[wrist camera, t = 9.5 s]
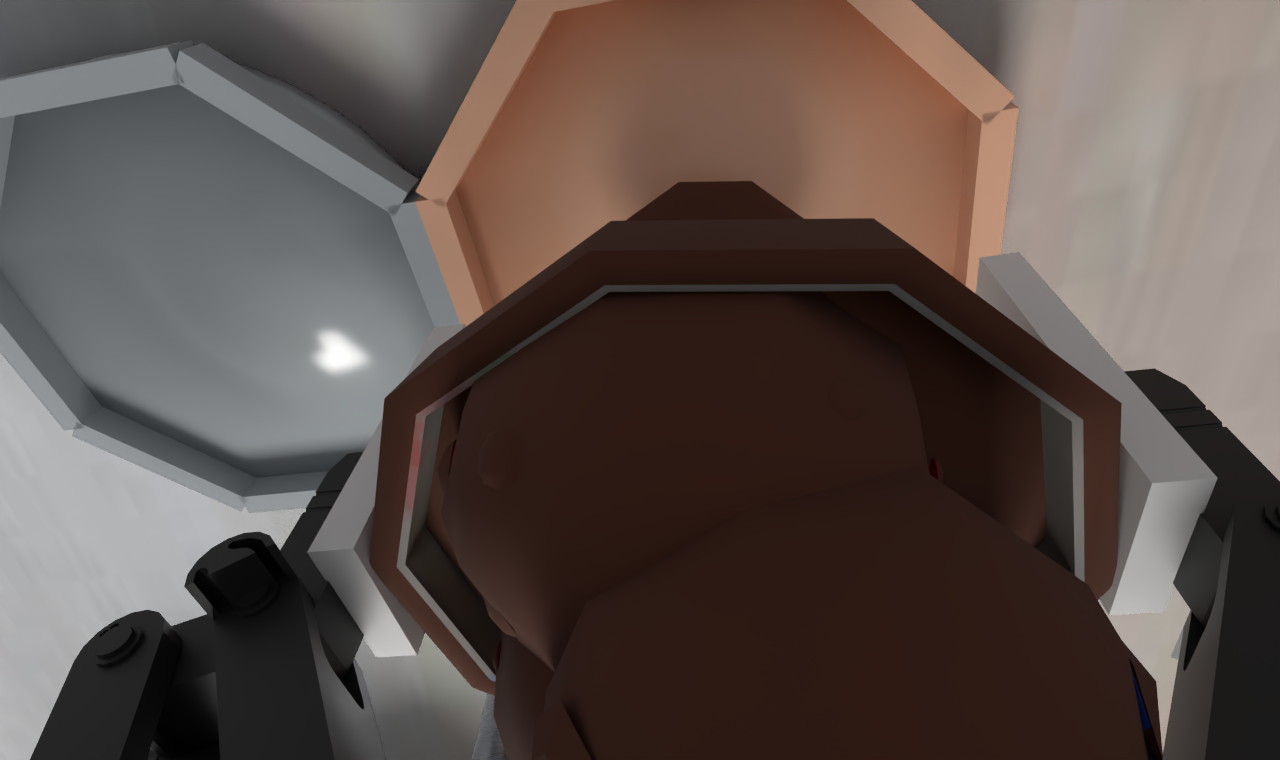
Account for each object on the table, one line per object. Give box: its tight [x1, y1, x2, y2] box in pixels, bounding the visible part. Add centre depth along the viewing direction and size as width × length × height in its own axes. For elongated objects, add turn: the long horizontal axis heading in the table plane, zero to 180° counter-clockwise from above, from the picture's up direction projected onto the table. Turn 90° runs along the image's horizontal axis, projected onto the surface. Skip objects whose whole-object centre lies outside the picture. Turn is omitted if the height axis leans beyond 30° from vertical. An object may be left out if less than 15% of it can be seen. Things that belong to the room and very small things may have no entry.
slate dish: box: [0, 40, 460, 513], centre depth 22 cm, size 15×15×2 cm
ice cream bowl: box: [370, 181, 1163, 760], centre depth 12 cm, size 11×11×15 cm
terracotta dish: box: [415, 0, 1019, 326], centre depth 20 cm, size 15×15×2 cm
